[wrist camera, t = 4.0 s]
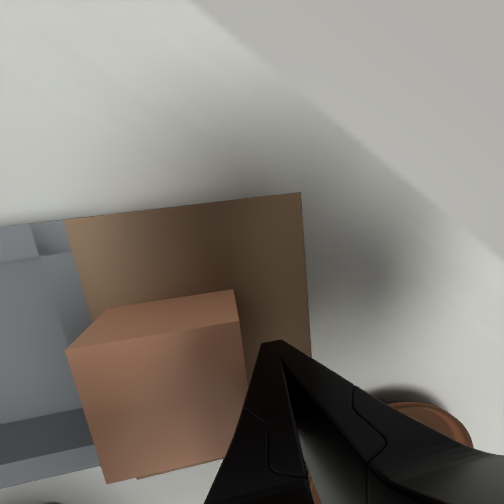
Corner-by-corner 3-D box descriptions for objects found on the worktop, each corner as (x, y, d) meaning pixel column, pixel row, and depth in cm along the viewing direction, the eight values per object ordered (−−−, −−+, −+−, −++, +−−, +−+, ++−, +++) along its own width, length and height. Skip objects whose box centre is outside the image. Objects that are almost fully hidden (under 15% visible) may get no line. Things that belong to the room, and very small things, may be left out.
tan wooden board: (158, 403, 14) (137, 479, 10) (113, 213, 12) (63, 219, 8) (290, 375, 15) (316, 436, 11) (274, 195, 13) (300, 192, 9)
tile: (134, 412, 10) (106, 484, 7) (107, 308, 9) (64, 350, 6) (246, 389, 10) (256, 449, 8) (233, 289, 9) (239, 320, 7)
